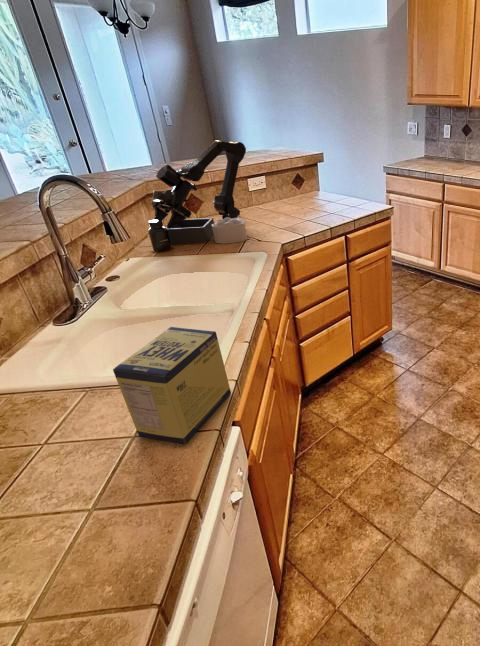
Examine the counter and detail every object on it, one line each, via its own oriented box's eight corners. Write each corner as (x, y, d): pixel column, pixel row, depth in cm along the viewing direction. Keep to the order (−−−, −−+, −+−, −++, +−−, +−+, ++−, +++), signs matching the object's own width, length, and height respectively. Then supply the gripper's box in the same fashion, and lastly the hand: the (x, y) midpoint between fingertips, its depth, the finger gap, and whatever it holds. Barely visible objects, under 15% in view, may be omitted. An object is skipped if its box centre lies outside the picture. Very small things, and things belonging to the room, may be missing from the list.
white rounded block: (248, 240, 183) (244, 220, 179) (216, 245, 179) (211, 224, 175) (245, 233, 192) (241, 214, 188) (214, 238, 187) (209, 218, 183)
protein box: (232, 392, 92) (217, 330, 85) (186, 445, 78) (163, 376, 71) (189, 386, 94) (170, 325, 87) (137, 437, 80) (109, 369, 73)
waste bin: (216, 232, 195) (213, 217, 192) (207, 242, 182) (204, 227, 179) (180, 233, 193) (176, 219, 190) (169, 244, 181) (165, 229, 178)
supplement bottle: (167, 252, 172) (158, 223, 166) (150, 252, 172) (141, 223, 166) (175, 246, 178) (167, 218, 172) (159, 246, 178) (151, 218, 172)
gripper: (149, 179, 173) (130, 212, 169) (176, 184, 164) (156, 219, 160) (172, 195, 182) (154, 227, 179) (199, 200, 173) (181, 234, 170)
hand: (161, 226), depth 172 cm, fingers open, 9 cm apart
